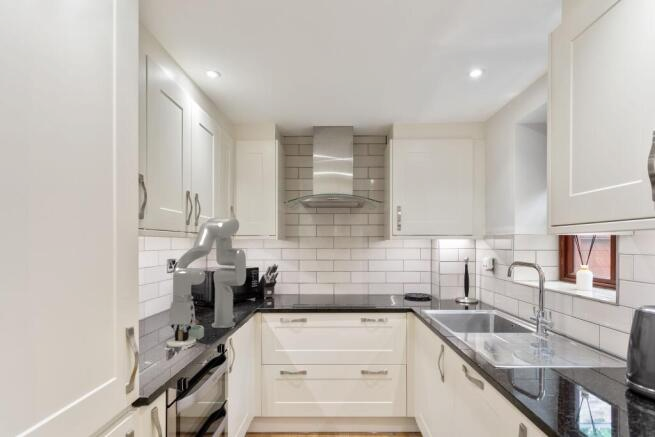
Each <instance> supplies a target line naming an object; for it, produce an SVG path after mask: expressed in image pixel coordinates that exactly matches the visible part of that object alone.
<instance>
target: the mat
mask: <svg viewBox="0 0 655 437" xmlns="http://www.w3.org/2000/svg"><path fill="white" fill-rule="evenodd" d="M173 348H174V347H170V346H167V347H164V348H163V350H167V351H168V350H170V349H173ZM170 351H171V350H170Z"/></svg>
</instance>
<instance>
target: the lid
mask: <svg viewBox="0 0 655 437" xmlns="http://www.w3.org/2000/svg"><path fill="white" fill-rule="evenodd" d="M183 332H184V329H181V330H178V340H177V341H175V337H172V338H170V339H168V340H167V341H166V346H167V347H169V346H170V347H183V346H188V345H191V344H196V342H197V340H196V338H195V337H192V336H189V337H188V340H186V341H183Z"/></svg>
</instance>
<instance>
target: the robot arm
mask: <svg viewBox="0 0 655 437" xmlns="http://www.w3.org/2000/svg"><path fill="white" fill-rule="evenodd" d="M239 228H240V222H239V220H238V219H237V218H235V217H210V218H209V219H207V220H206V222H203V223H202V224H201V226H200V227H199V230H198V233H197V235H196V238H195V239H194V240H195V241H194V243H193V246H192V247H191V248H190V249H188V250H187V251H186V252H185V253H183V255H182V256H181V257H180V258H179V259H178V261H177V262H176V265H175V267H174V270H173V272H172V273H173V274H172V301H171V304H170V307H169V308H170V310H169V320H168V322H167V325H168V326H169V327H171V328H172V330H173V332H174V338H175V341H177V340H178V330H179V329H180V327H181V326H182V325H184V332H183V341H186V340H188V337H189V330H190V329H191V328H192V327H194V326H195V325H197V324H196V323H195V318H196V315H195V314H196V311H195V310H196V309H195V305H194V301H193V300H194V296H193V295H192V286H193V285H195V286H197V285H198V286H199V285H201V284H203V283H204V281H205V280H206V272H205V271H204V270H203V269H202V268H197V267H195V268H194V267H193V268H192V267H189V265H190V264H191V263H193V262H194V261H197V260H199V259H201V258H204V257H206V256H208V255H209V254H210V253H211V252H212V251H211V250H212V247H213V245H214V242H215V252H216V253H215V254H216V256H215V257H216V259H215V260H216V263H217V264H218V265H219V266H224V267H220V268H217V269H216V270H215V271H214V273H213V282H214V322H212V323H211V328H214V329H228V328H232V327H234V326H236V322H235V321H233V320H234V319H235V315H234V314H233V311H234V309H233V307H234V293H233V290H232V289H233V288H231V286H233V287H234V286H235V287H237V286H238V287H240V286H241V287H242V286H243V285H244V284H245V282H246V280H247V279H246V278H247V260H246V259H247V258H246V257H247V256H246V252H245V251H244V250H243V249H242V248H234V247H233V240H232V236H233V235H235V234H236V233H237V232H238V231H239ZM225 266H227V267H225ZM230 266H231V267H230ZM233 266H234V267H233ZM190 323H191V325H190Z"/></svg>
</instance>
